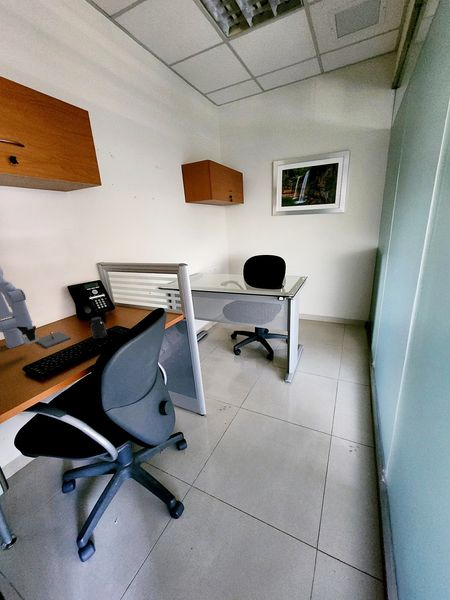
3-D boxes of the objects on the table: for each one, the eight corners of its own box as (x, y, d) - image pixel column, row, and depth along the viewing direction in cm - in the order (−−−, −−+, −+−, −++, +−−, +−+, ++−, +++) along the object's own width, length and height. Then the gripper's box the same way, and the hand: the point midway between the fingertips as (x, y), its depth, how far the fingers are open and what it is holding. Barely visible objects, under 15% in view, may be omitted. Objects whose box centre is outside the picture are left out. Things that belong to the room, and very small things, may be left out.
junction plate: (35, 341, 135) (33, 333, 134) (59, 333, 145) (56, 325, 143) (47, 348, 126) (44, 339, 125) (70, 338, 136) (68, 330, 134)
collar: (23, 342, 121) (21, 335, 120) (35, 338, 125) (32, 331, 123) (27, 344, 118) (24, 337, 117) (38, 340, 122) (36, 333, 121)
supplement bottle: (108, 338, 132) (103, 318, 129) (94, 342, 129) (88, 322, 125) (106, 334, 138) (102, 315, 134) (93, 337, 135) (88, 318, 131)
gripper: (6, 314, 118) (16, 339, 122) (16, 319, 110) (25, 345, 114) (24, 310, 123) (32, 333, 127) (34, 314, 115) (42, 339, 119)
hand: (30, 339), depth 121 cm, fingers closed on collar, 5 cm apart
